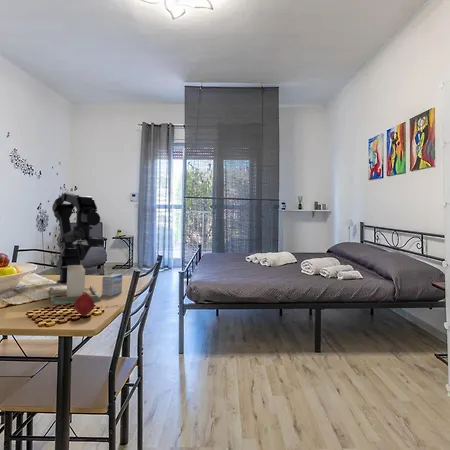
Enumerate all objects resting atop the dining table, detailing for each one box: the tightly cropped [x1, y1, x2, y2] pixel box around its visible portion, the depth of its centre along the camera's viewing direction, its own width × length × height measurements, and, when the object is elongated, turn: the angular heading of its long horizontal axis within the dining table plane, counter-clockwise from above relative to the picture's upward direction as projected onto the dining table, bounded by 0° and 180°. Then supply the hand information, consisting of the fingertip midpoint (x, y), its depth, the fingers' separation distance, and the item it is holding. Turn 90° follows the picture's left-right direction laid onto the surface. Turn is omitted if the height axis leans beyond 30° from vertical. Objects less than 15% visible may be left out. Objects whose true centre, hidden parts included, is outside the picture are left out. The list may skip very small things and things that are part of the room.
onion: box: [74, 291, 95, 317], centre depth 112 cm, size 6×6×8 cm
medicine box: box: [101, 273, 123, 297], centre depth 139 cm, size 8×4×9 cm, turn 168°
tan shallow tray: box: [49, 285, 102, 305], centre depth 132 cm, size 23×16×4 cm
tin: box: [66, 264, 86, 297], centre depth 129 cm, size 12×5×11 cm, turn 28°
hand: (81, 260), depth 152 cm, fingers closed
